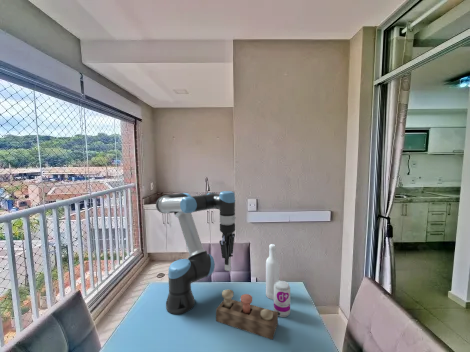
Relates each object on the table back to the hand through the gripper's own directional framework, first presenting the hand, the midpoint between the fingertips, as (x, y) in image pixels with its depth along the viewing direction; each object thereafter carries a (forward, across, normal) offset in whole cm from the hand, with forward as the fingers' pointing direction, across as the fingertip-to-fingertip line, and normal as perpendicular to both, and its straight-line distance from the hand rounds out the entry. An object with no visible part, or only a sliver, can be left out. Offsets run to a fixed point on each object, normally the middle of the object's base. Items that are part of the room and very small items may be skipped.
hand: (227, 269), depth 108 cm
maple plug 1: (+18, 0, 0) cm, 18 cm away
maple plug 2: (+23, 0, -20) cm, 30 cm away
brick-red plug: (+18, 0, -10) cm, 21 cm away
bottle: (+24, +26, -16) cm, 39 cm away
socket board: (+24, 0, -10) cm, 26 cm away
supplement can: (+24, +14, -24) cm, 37 cm away
